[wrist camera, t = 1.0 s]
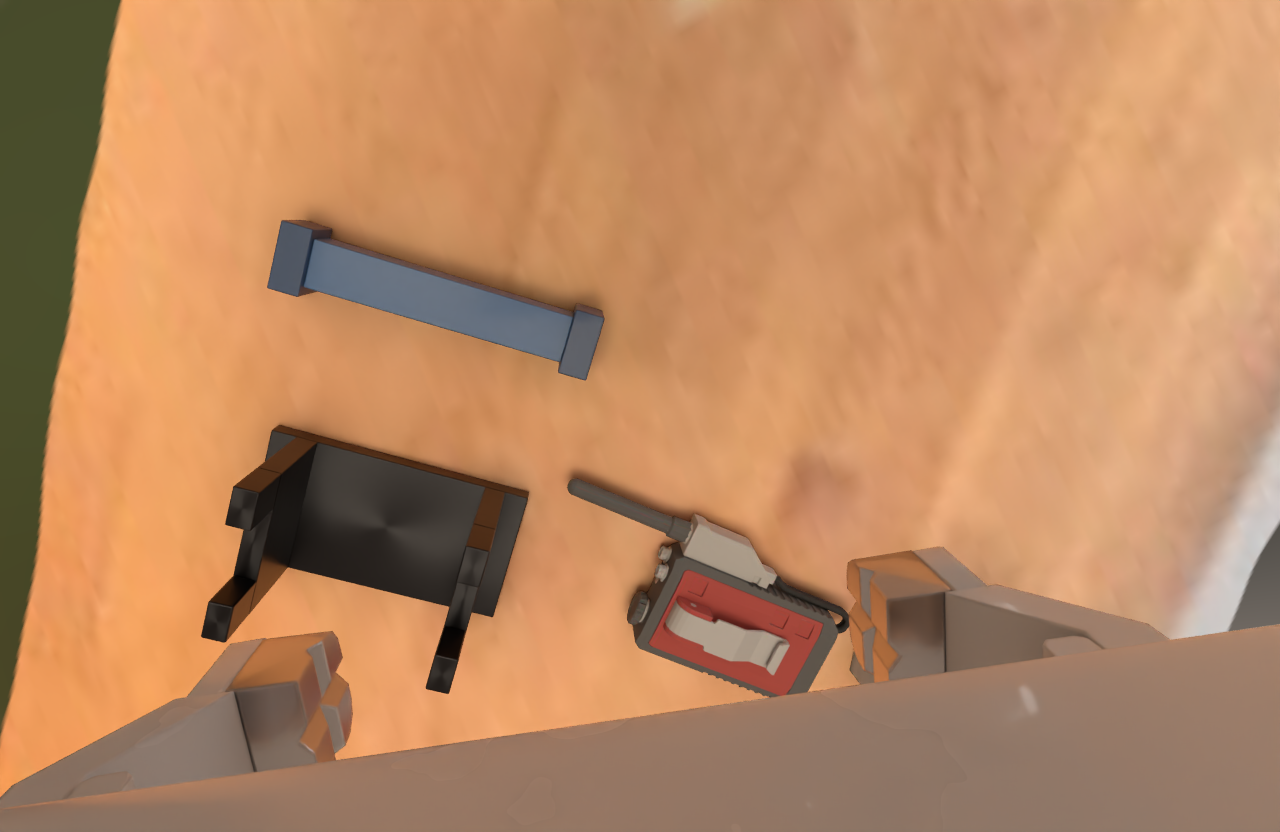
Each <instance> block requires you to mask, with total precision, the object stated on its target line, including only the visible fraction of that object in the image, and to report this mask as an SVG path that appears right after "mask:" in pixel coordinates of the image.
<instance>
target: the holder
mask: <svg viewBox="0 0 1280 832" xmlns="http://www.w3.org/2000/svg"><path fill="white" fill-rule="evenodd" d="M528 496H529V492H527V491H523V490H519V489H515V488H512V487H508V486H504V485H501V484H497V483H493V482H489V481H486V480H482V479H478V478H474V477H471V476H467V475H463V474H459V473H456V472H452V471H448V470H445V469H441V468H437V467H433V466H430V465H426V464H422V463H418V462H415V461H411V460H407V459H404V458H400V457H396V456H392V455H389V454H385V453H381V452H377V451H374V450H370V449H366V448H363V447H359V446H355V445H351V444H348V443H344V442H340V441H336V440H333V439H329V438H325V437H322V436H318V435H314V434H310V433H307V432H303V431H299V430H295V429H292V428H288V427H284V426H280V425H279V426H277V427H276V428H274V429H273V430H272V432H271V436H270V441H269V445H268V450H267V454H266V458H265V462H264V463H263V464H262V465H260V466H259V467H258V468H256V469H255V470H254V471H253V472H251V473H250V474H249V475H247V476H246V477H245V478H244V479H242V480H241V481H240V482H239V483H237V484H236V485H235V486H234V487H233V491H232V495H231V500H230V504H229V509H228V514H227V518H226V523H225V525H228V526H232V527H236V528H240V529H244V531H243V535H242V540H241V544H240V549H239V553H238V557H237V562H236V566H235V571H234V575H233V577H232V578H231V579H230V580H229V581H228V582H227V583H226V584H225V585H224V586H223V587H222V588H221V589H220V590H219V591H218V592H217V593H216V594H215V596H214V597H213V598H212V599H211V600H210V601H209V602H208V607H207V611H206V616H205V620H204V625H203V630H202V634H201V637H202V638H207V639H211V640H215V641H220V642H226V641H227V640H228V639H229V638H230V636H231V635H232V634H233V633H234V632H235V630H236V629H237V628H238V627H239V625H240V624H241V623H242V622H243V621H244V619H245V618H246V617H247V616H248V615H249V614H250V612H251V611H252V610H253V609H254V608H255V606H256V605H257V604H258V603H259V602H260V600H261V599H262V598H263V597H264V595H265V594H266V593H267V592H268V591H269V589H270V588H271V587H272V586H273V585H274V583H275V582H276V581H277V580H278V578H279V577H280V576H281V575H282V574H283V572H284V571H285V570H286V569H287V568H288V567H289V568H293V569H297V570H301V571H305V572H310V573H314V574H318V575H322V576H326V577H330V578H334V579H338V580H342V581H346V582H351V583H355V584H359V585H363V586H367V587H371V588H375V589H379V590H383V591H387V592H391V593H396V594H400V595H404V596H408V597H412V598H416V599H420V600H424V601H428V602H432V603H436V604H441V605H445V606H449V611H448V614H447V618H446V621H445V625H444V628H443V631H442V634H441V637H440V640H439V644H438V647H437V650H436V653H435V656H434V660H433V663H432V667H431V670H430V674H429V677H428V681H427V684H426V689H428V690H433V691H437V692H441V693H446V694H449V692H450V688H451V685H452V681H453V678H454V674H455V671H456V668H457V664H458V661H459V657H460V653H461V649H462V645H463V642H464V638H465V634H466V630H467V627H468V623H469V620H470V616H471V613H472V612H473V613H477V614H481V615H486V616H490V617H493V615H494V612H495V608H496V605H497V602H498V598H499V595H500V592H501V588H502V585H503V581H504V578H505V575H506V571H507V568H508V565H509V561H510V558H511V554H512V551H513V548H514V544H515V541H516V538H517V534H518V531H519V527H520V524H521V521H522V517H523V514H524V511H525V507H526V504H527V500H528Z"/></svg>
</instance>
